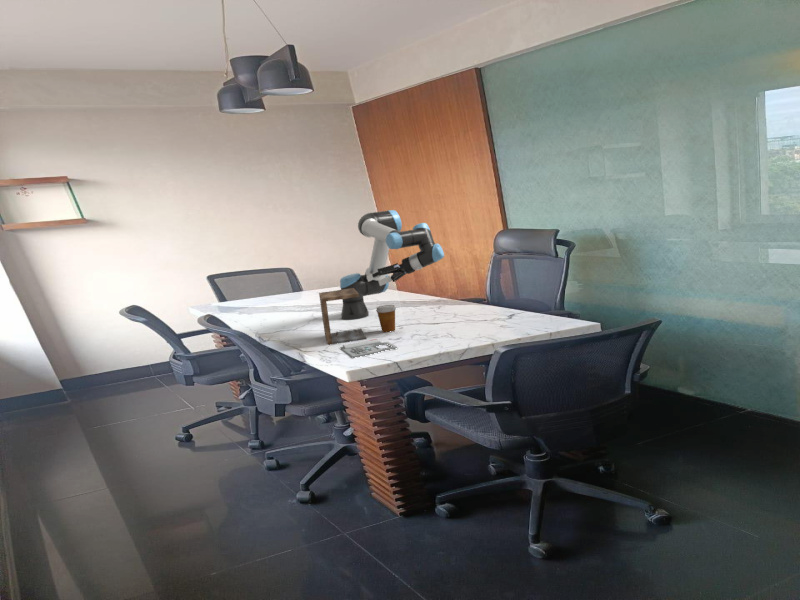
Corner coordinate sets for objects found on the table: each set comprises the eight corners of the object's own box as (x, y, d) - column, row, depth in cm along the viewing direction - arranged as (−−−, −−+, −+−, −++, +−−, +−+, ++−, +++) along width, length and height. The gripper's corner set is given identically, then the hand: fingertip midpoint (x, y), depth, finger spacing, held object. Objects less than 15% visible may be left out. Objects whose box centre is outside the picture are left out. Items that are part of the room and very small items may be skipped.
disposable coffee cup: (383, 334, 318) (380, 309, 316) (375, 331, 327) (372, 307, 325) (401, 330, 322) (398, 305, 320) (393, 327, 330) (390, 303, 329)
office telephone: (339, 344, 299) (381, 336, 305) (339, 350, 299) (382, 341, 305) (352, 353, 277) (398, 344, 283) (353, 359, 277) (399, 350, 283)
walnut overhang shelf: (361, 330, 333) (355, 287, 330) (366, 339, 312) (360, 293, 308) (325, 336, 331) (319, 292, 327) (327, 345, 309) (321, 298, 306)
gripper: (404, 266, 305) (364, 284, 312) (424, 275, 328) (386, 292, 335) (399, 251, 307) (359, 269, 314) (419, 261, 330) (381, 278, 337)
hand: (373, 281), depth 324 cm, fingers open, 13 cm apart
